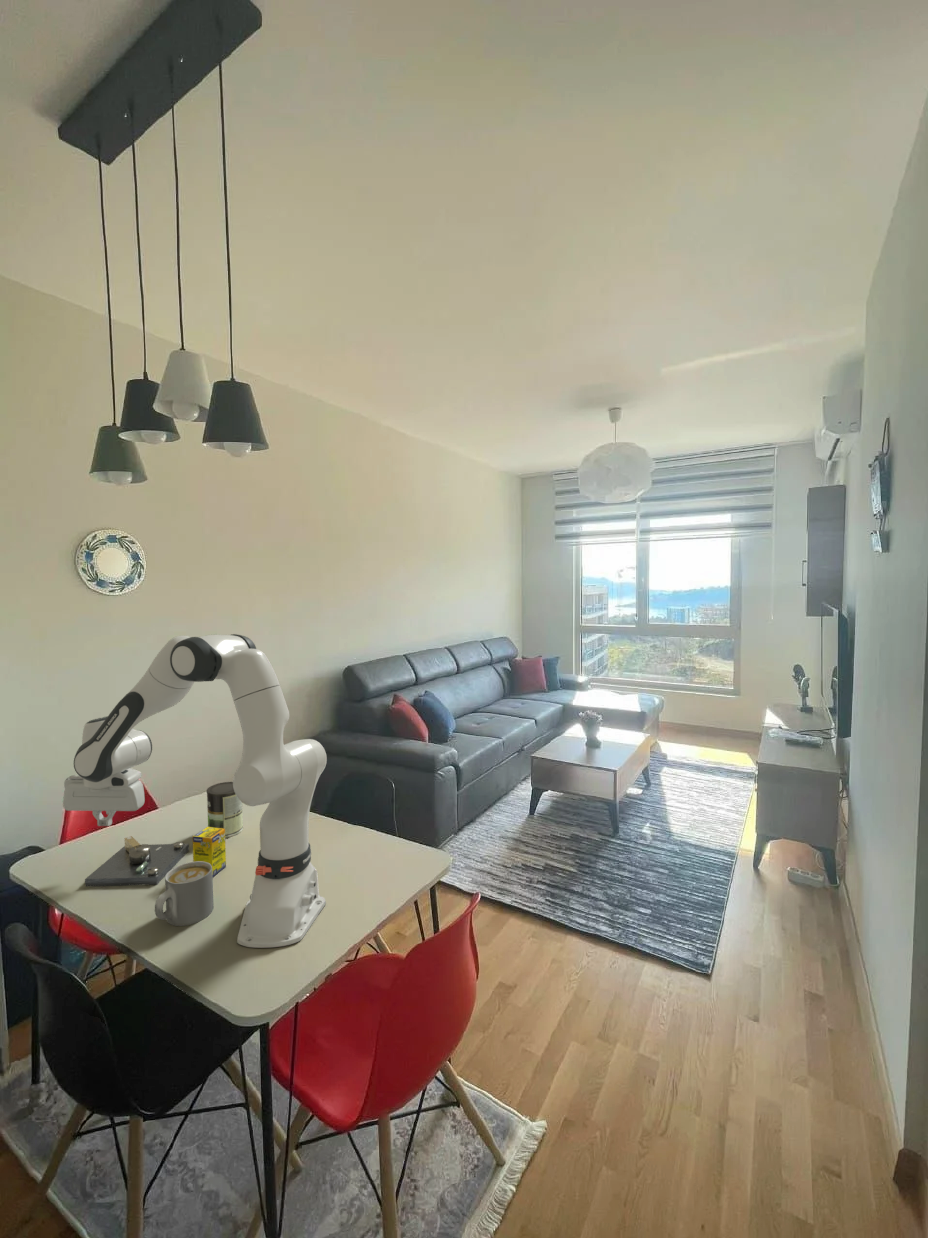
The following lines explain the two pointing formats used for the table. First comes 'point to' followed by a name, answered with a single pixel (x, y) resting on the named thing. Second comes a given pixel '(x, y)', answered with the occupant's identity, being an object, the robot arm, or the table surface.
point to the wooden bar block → (137, 851)
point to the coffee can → (224, 809)
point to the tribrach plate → (138, 867)
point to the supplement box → (210, 848)
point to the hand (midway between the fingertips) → (104, 825)
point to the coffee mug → (187, 894)
